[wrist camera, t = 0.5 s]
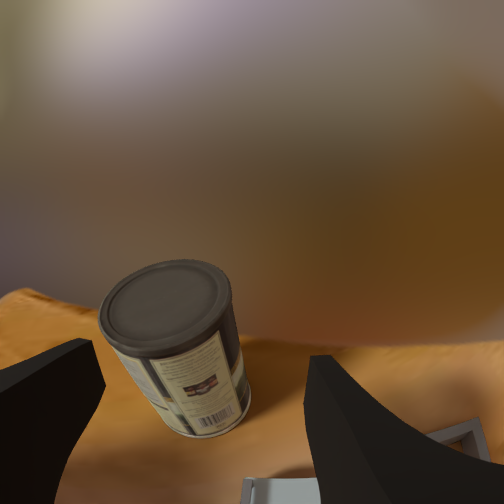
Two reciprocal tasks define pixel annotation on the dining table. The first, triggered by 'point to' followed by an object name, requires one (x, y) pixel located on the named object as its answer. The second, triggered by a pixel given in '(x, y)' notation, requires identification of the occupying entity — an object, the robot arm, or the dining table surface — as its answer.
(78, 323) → the dining table surface
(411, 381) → the dining table surface
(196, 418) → the coffee can
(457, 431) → the bay
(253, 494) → the box with handle
